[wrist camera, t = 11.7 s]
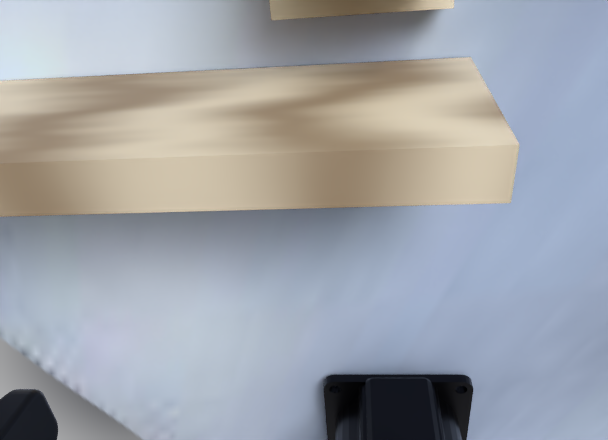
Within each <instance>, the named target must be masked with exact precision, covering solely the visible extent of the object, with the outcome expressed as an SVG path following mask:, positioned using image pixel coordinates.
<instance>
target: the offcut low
mask: <svg viewBox="0 0 608 440" xmlns="http://www.w3.org/2000/svg"><path fill="white" fill-rule="evenodd" d="M269 4H270V13H271V20H284V19H299V18H314V17H329V16H344V15H359V14H374V13H389V12H404V11H419V10H434V9H449V8H454V0H269Z"/></svg>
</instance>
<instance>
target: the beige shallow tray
mask: <svg viewBox="0 0 608 440" xmlns="http://www.w3.org/2000/svg"><path fill="white" fill-rule="evenodd" d="M518 151H519V143H518V141H517V139H516V138H515V136H514V134H513V132H512V130H511V129H510V127H509V125H508V123H507V121H506V120H505V118H504V116H503V114H502V112H501V111H500V109H499V107H498V105H497V103H496V102H495V100H494V98H493V96H492V94H491V93H490V91H489V89H488V87H487V86H486V84H485V82H484V80H483V78H482V77H481V75H480V73H479V71H478V69H477V68H476V66H475V64H474V62H473V60H472V59H471V57H463V58H443V59H423V60H403V61H384V62H364V63H344V64H324V65H304V66H285V67H265V68H245V69H225V70H205V71H186V72H166V73H146V74H126V75H106V76H86V77H67V78H47V79H27V80H7V81H0V217H5V216H42V215H80V214H117V213H154V212H192V211H229V210H267V209H304V208H341V207H379V206H416V205H453V204H491V203H511V198H512V191H513V185H514V178H515V171H516V165H517V158H518Z"/></svg>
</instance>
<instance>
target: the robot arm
mask: <svg viewBox="0 0 608 440" xmlns="http://www.w3.org/2000/svg"><path fill="white" fill-rule="evenodd" d="M472 394H473V386H472V382H471V379H470V378H469V377H467V376H465V375H330V376H328V377H326V379H325V380H324V398H325V411H326V423H327V436H328V440H466V439H467V431H468V424H469V417H470V409H471V402H472ZM57 435H58V425H57V421H56V419H55V417H54V414H53V413H52V411H51V408H50V406H49V404H48V402H47V400H46V398H45V396H44V394H43V393H42V392H41V391H39V390H36V389H18V390H13V391H11V392H9V393H8V394H6V395H5V396H4V397H3V398H1V399H0V440H57Z"/></svg>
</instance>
